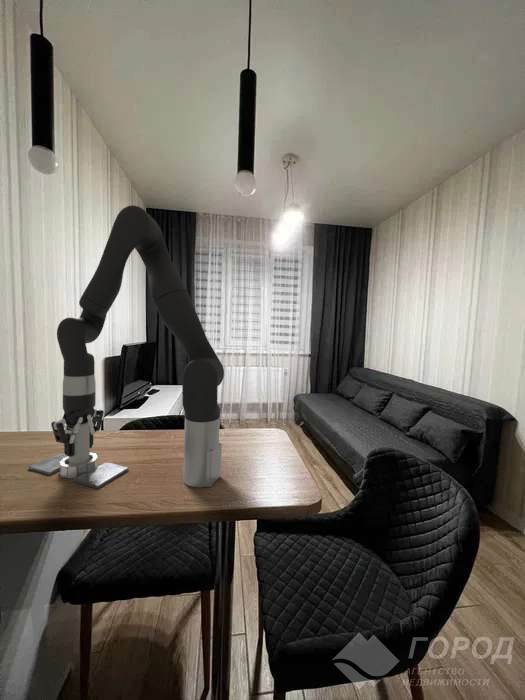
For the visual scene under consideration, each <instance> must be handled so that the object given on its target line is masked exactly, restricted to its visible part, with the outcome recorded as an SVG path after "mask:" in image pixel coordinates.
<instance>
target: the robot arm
mask: <svg viewBox="0 0 525 700" xmlns="http://www.w3.org/2000/svg"><path fill="white" fill-rule="evenodd" d="M134 249H135V250H136V252H137V253H138V256H139V257H140V258H141V260H142V263H143V265H144V267H145V269H146V271H147V275H148V281H149V290H150V296H151V299H152V301H153V304H154V307H155V309H156V310H157V311H156V312H158V315H159V318H160V319H161V320H162V322H163V324H164V325H165V326H166V328H167V329H168V330H169V331H170V333H171V334H172V335H173V336H174V337H175V338H176V340H177V341H178V342H179V344H180V345H181V346H182V348H183V351H184V352H185V355H186V357H187V360H188V363H187V364H186V366H185V367H184V369H183V372H182V373H183V374H182V380H181V381H182V384H181V385H182V387H181V388H182V390H181V391H182V392H181V393H182V408H183V410H184V430H183V431H184V436H183V437H184V438H183V439H184V440H183V468H182V469H183V470H182V474H183V475H182V481H183V483H184V484H185V485H187V486H189V487H192V488H205V487H206V488H212V486H213V485H214V484H215V483H216V482H217V481H218V479H220V477H221V476H222V475H221V474H222V473H221V471H222V470H221V468H222V452H223V451H222V446H223V445H222V443H221V442H220V423H221V421H220V420H221V407H220V405H219V404H218V391H219V390H218V387H219V386H220V385H221V384H222V382H223V381H224V377H225V368H224V366H223V364H222V361H221V360H220V358H219V357H218V355H217V353H216V352H215V349H214V348H213V347H212V345H211V343H210V341H209V339H208V338H207V336H206V335H207V334H206V333H205V331H204V327H203V326H202V323H201V320H200V318H199V316H198V314H197V311H196V309H195V307H194V303H193V301H192V299H191V297H190V295H189V292H188V290H187V288H186V286H185V284H184V282H183V281H182V280H183V279H182V278H181V276H180V274H179V272H178V271H177V269H176V267H175V265H174V263H173V262H172V259H171V256H170V253H169V251H168V247H167V244H166V242H165V239H164V236H163V232H162V230H161V227H160V225H159V224H158V222H157V221H156V220H155V219H154V218H153V217H152V216H151V215H150V213H148V212H147V211H146V210H145V209H143V208H142V207H140V206H138V205H128V206H125V207H124V208H122V209H121V210H120V211H119V212H118V214H117V215H116V217H115V220H114V222H113V225H112V227H111V229H110V233H109V236H108V239H107V241H106V244H105V247H104V250H103V252H102V255H101V258H100V260H99V263H98V265H97V267H96V269H95V272H94V274H93V275H92V277H91V280H89V282H88V284H87V286H86V288H85V290H84V291H83V293H82V295H81V296H80V299H79V302H78V305H79V307H80V308H81V309H82V311H81V313H80V315H79V317H76V316H75V317H73V316H72V317H71V316H69V317H66V318H63V319H62V320H60V323H59V324H58V326H57V329H56V338H57V342H58V346H59V349H60V353H61V356H62V358H63V379H62V380H63V381H62V410H63V412H64V414H63V416H62V417H61V418H62V419H61V418H60V419H59V420H58V421H52V422H51V424H50V426H51V428H52V433H53V435H54V439H55V442H56V443H60V444H63V450H64V451H63V452H64V453H65V455H66V456H70V457H71V456H74V439H75V435H76V434H77V433H78V431H79V427H80V426H79V425H80V424H83V423H88V422H89V423H88V424H89V427H90V435H89V450H90V449H92V448H93V445H94V435H95V433H96V432H99V431H100V430H101V427H102V421H103V416H104V410H103V409H97V408H95V407H96V404H97V403H96V398H97V397H96V390H97V389H96V386H97V385H96V377H95V374H96V373H95V369H96V368H95V367H96V366H95V365H96V364H95V362H96V361H95V356H94V355H93V354H92V353H89V352H88V350H87V344H91V343H93V342H94V341H96V340H97V339H98V338H99V336H100V335H101V333H102V331H103V328H104V325H105V322H106V319H107V314H108V312H109V311H110V309H111V307H112V306H113V304H114V302H115V301H116V299H117V297H118V295H119V293H120V291H121V288H122V283H123V276H124V273H125V272H124V270H125V267H126V265H127V264H126V263H127V261H128V259H129V258H130V255H131V254H132V252H133V251H134ZM69 428H73V431H71V430H69ZM69 434H70V437H69Z"/></svg>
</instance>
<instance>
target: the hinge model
mask: <svg viewBox="0 0 525 700" xmlns="http://www.w3.org/2000/svg"><path fill="white" fill-rule="evenodd" d="M98 457H99V456H98V455H97V453H94V452H90V451H89V461H88V462H86V463H83V464H79V465H69V456H66V455H65V453H64V451H63V452H61V453H58V454H55V455H53V456H50V457H48V458H45V459H44V460H43V459H42V460H40V461H38V462H36V463H33V464H30V465H29V466H28V470H31V471H34V472H37V473H40V474H45V475H47V476H50V475H53V474H55V473H57V472H59V476H60V477H61V478H66V479H73V483H76V484H79V485H83V486H86V487H90V488H94V489H97V490H98V489H100V488H102V487H103V486H106V484H108V483H110V482H111V481H113V480H115V479H116V478H119V476H121V475H123V474H125V473H126V472H128V471H129V467H128V466H123V465H120V464H116V463H111V462H107V461H106V462H103V463H102V464H100V465H98V464H99V463H98V462H99V461H98Z"/></svg>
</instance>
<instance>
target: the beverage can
mask: <svg viewBox="0 0 525 700" xmlns="http://www.w3.org/2000/svg"><path fill="white" fill-rule="evenodd" d="M88 423H89V422H88ZM88 423H83V424H80V425H79V426H80V427H79V431H78V433H77V434H76V435H75V439H74V456H71V457H70V456H69V465H79V464H83V463H86V462H88V461H89V453H90V449H89V435H90V427H89V424H88ZM69 430H71V431H73V428H69ZM69 437H70V434H69Z"/></svg>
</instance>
